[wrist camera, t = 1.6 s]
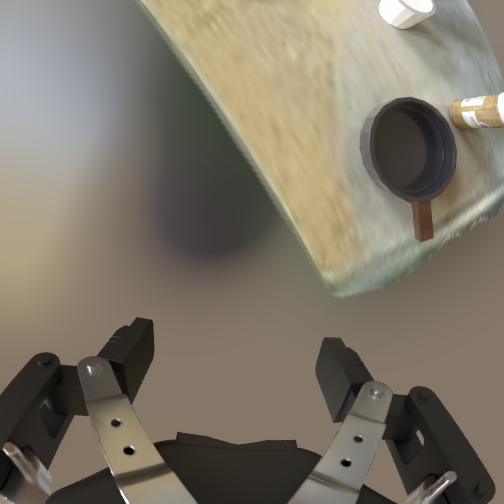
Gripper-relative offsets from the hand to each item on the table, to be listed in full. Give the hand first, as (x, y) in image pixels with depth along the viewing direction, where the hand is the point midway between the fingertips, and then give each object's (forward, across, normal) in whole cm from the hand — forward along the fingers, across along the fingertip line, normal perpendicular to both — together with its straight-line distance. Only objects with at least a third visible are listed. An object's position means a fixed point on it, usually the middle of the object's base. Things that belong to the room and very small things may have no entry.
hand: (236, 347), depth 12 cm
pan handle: (+23, -24, -8) cm, 34 cm away
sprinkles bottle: (+20, -30, -24) cm, 43 cm away
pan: (+22, -20, -16) cm, 34 cm away
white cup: (+19, -18, -38) cm, 46 cm away
